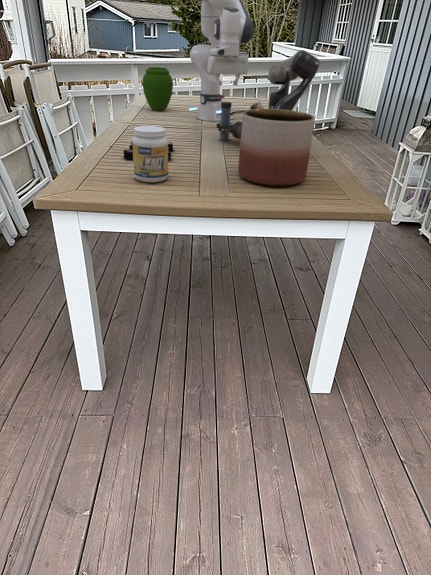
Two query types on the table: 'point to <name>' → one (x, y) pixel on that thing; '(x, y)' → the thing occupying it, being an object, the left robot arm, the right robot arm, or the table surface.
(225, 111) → the dark grey cylinder
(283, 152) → the planter
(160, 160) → the supplement tub
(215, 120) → the left robot arm
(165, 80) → the vase
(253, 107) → the seashell
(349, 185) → the table surface
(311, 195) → the table surface
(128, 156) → the black printed glove
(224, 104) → the lid
